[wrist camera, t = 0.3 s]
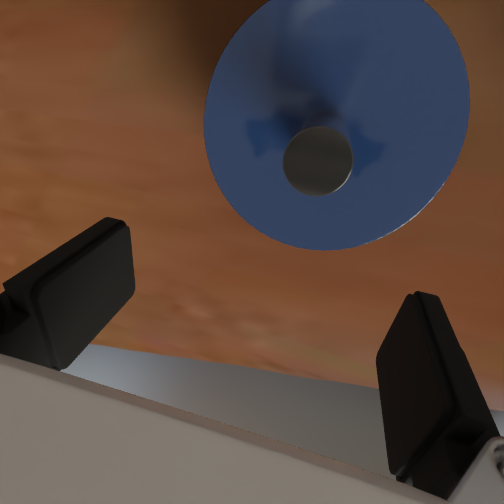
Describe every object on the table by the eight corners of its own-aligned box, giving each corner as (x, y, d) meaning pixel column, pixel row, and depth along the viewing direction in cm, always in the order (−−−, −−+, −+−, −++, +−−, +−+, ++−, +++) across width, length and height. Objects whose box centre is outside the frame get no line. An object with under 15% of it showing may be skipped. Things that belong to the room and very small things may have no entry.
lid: (218, -34, 16) (153, -92, 11) (522, -2, 14) (644, -52, 8) (205, 218, 24) (163, 264, 18) (401, 263, 22) (423, 329, 16)
